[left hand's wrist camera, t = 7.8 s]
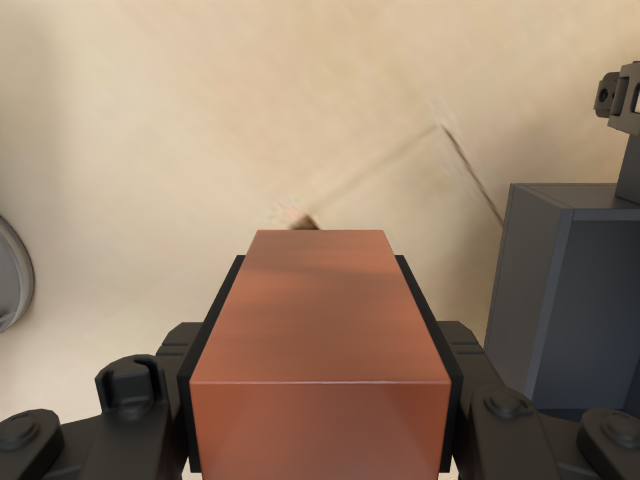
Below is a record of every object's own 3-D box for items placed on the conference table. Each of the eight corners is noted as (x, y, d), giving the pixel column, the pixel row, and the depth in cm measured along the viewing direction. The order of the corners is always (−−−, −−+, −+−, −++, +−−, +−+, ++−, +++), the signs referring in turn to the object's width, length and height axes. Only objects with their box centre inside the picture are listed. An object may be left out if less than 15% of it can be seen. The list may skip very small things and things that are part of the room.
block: (262, 337, 16) (211, 558, 8) (256, 229, 14) (186, 381, 7) (377, 337, 16) (428, 558, 8) (383, 229, 14) (453, 381, 7)
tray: (473, 409, 30) (505, 476, 25) (534, 35, 22) (602, 17, 16) (622, 409, 30) (686, 476, 25) (744, 35, 22) (881, 16, 16)
